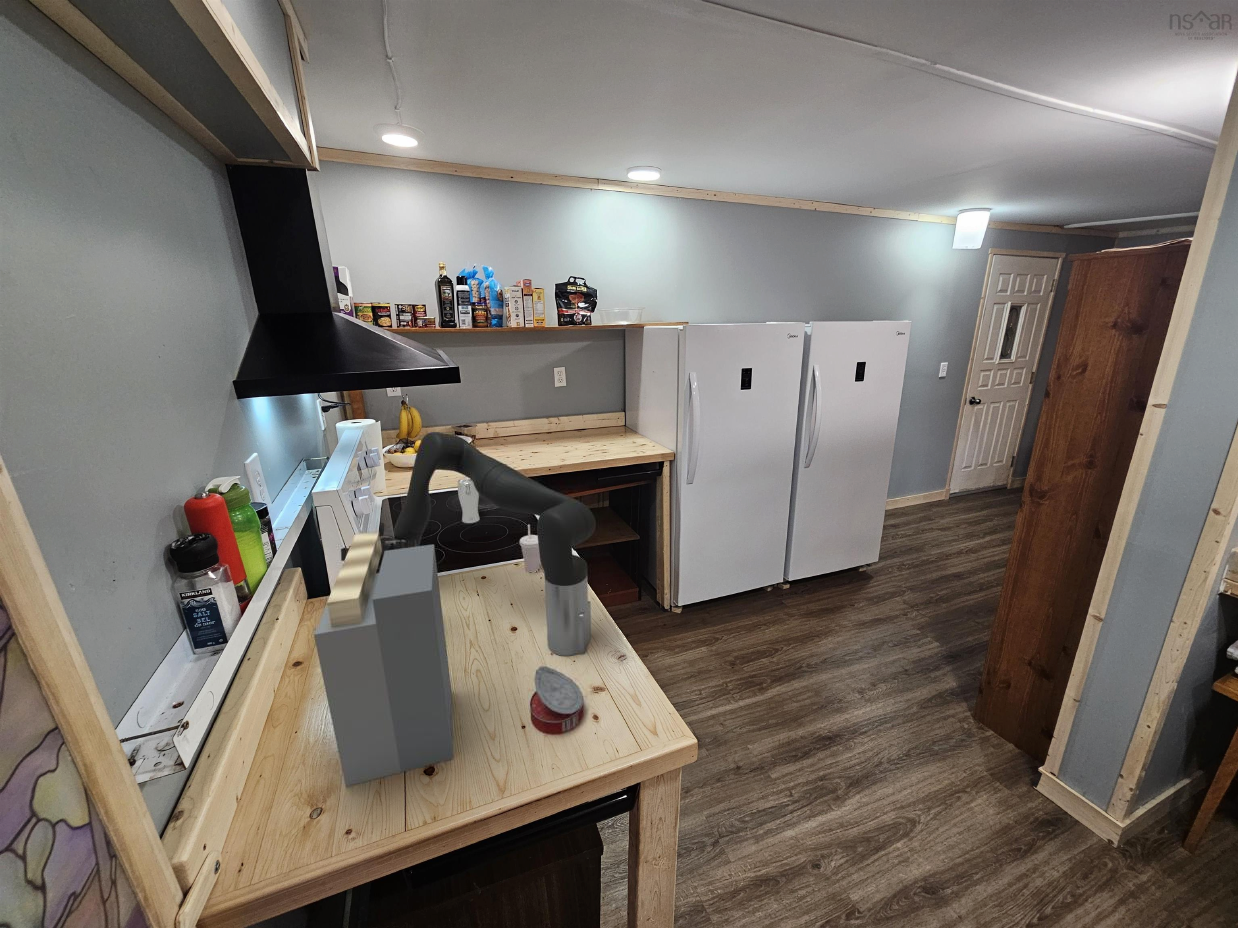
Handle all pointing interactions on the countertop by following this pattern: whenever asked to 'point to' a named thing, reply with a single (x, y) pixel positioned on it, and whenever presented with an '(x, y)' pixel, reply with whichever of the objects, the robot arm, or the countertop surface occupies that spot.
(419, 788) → the countertop surface
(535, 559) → the smoothie
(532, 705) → the canned food
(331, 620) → the birch bar
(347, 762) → the block
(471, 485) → the beer glass
